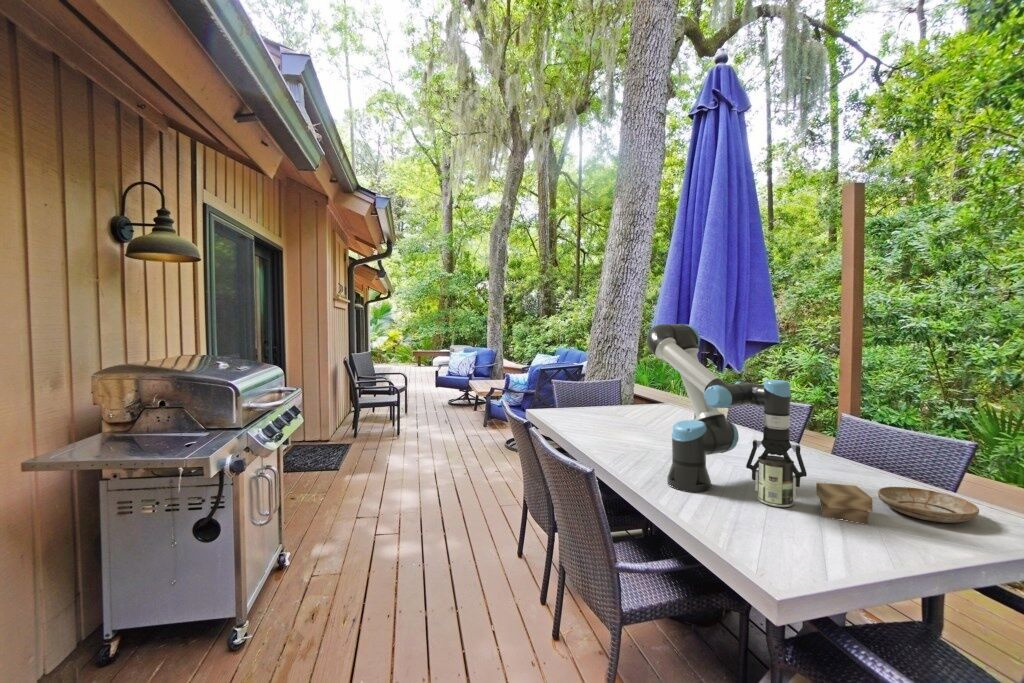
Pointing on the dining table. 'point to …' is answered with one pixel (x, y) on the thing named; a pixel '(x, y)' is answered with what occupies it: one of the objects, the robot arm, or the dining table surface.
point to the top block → (844, 496)
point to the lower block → (844, 514)
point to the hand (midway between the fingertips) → (775, 492)
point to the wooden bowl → (928, 504)
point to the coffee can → (775, 481)
